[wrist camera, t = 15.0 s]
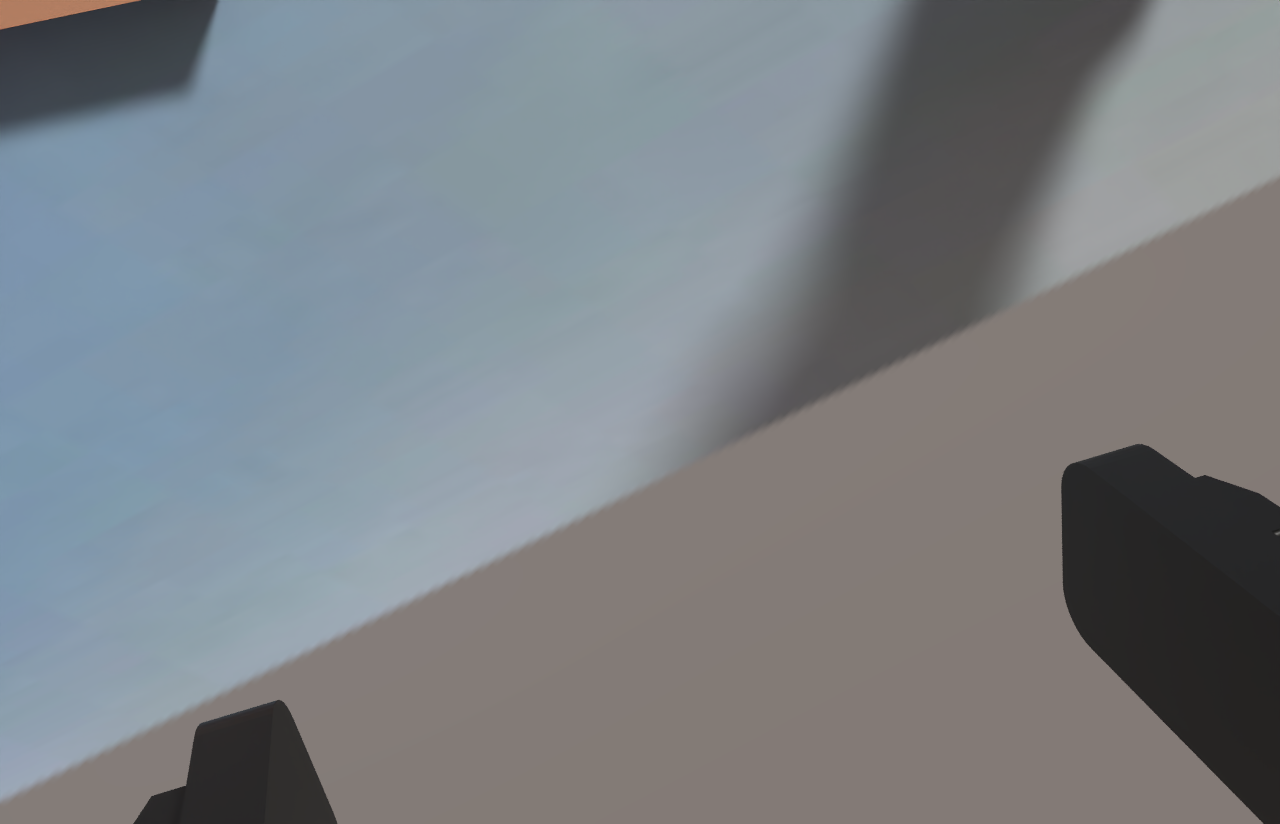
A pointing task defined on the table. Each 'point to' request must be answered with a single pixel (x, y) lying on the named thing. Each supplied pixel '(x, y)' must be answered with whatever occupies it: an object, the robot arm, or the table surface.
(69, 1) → the dish
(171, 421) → the table surface
